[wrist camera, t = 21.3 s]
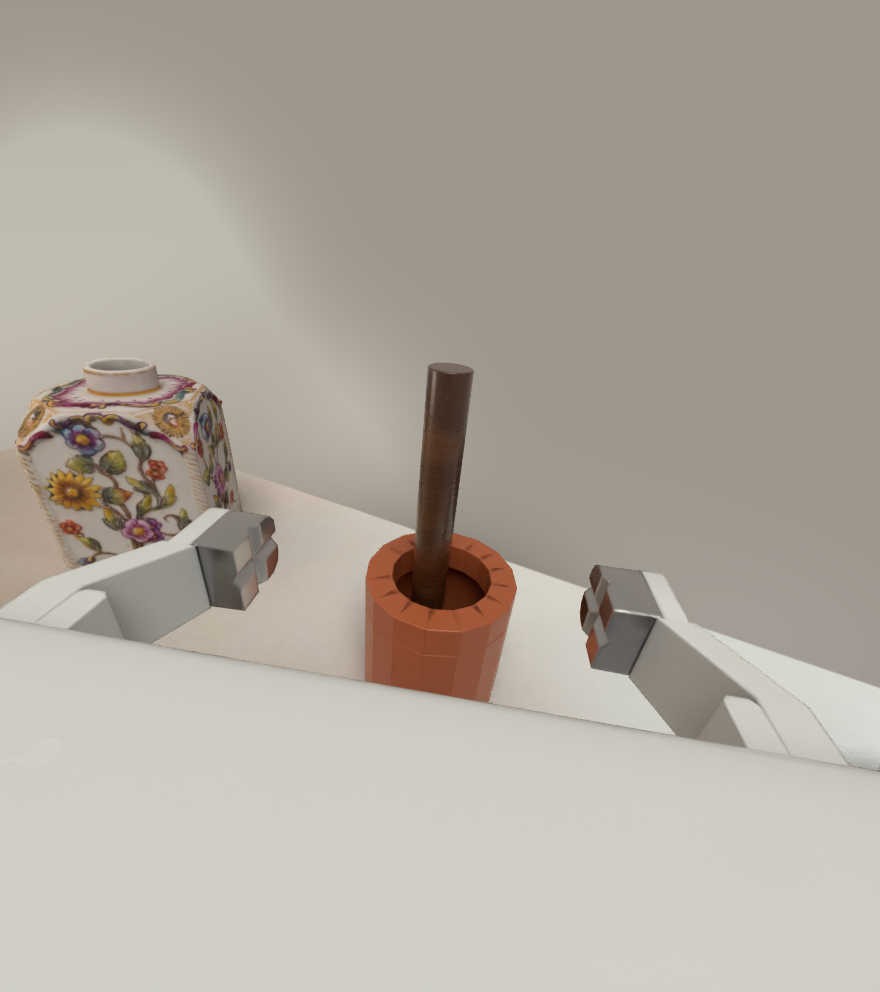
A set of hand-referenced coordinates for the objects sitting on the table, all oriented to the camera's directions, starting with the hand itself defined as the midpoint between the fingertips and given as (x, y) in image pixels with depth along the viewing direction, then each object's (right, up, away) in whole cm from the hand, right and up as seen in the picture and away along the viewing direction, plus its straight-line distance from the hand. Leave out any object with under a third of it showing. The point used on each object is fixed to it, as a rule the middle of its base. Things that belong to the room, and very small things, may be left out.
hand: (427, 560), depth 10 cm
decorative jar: (-27, -4, +31) cm, 41 cm away
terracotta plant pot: (-1, -12, +20) cm, 24 cm away
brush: (-1, -11, +20) cm, 23 cm away
